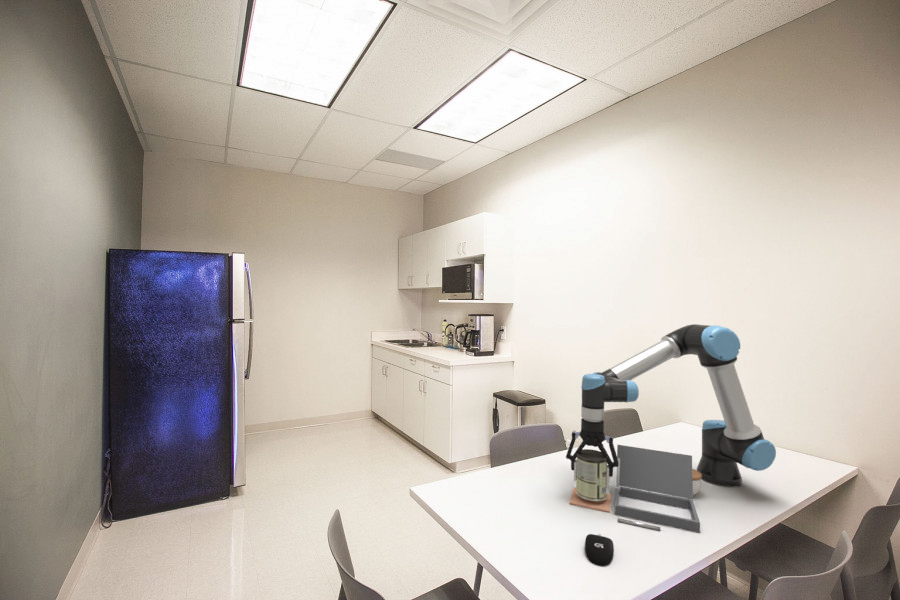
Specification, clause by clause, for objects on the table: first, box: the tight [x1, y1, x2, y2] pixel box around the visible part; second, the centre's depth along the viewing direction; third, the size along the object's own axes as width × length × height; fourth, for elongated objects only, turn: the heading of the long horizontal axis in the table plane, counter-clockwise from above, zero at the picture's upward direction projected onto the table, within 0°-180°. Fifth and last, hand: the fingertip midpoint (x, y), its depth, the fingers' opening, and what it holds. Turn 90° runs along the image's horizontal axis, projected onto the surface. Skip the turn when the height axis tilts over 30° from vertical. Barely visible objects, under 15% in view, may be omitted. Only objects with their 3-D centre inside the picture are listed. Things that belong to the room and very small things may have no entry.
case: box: [614, 444, 701, 534], centre depth 138 cm, size 24×20×17 cm
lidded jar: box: [692, 468, 702, 496], centre depth 151 cm, size 11×11×9 cm
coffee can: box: [576, 448, 608, 501], centre depth 143 cm, size 10×10×14 cm
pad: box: [568, 486, 612, 514], centre depth 143 cm, size 13×13×1 cm
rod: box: [617, 517, 661, 532], centre depth 127 cm, size 12×1×1 cm, turn 66°
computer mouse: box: [584, 533, 615, 567], centre depth 113 cm, size 8×12×4 cm, turn 158°
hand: (591, 482), depth 143 cm, fingers closed on coffee can, 10 cm apart
